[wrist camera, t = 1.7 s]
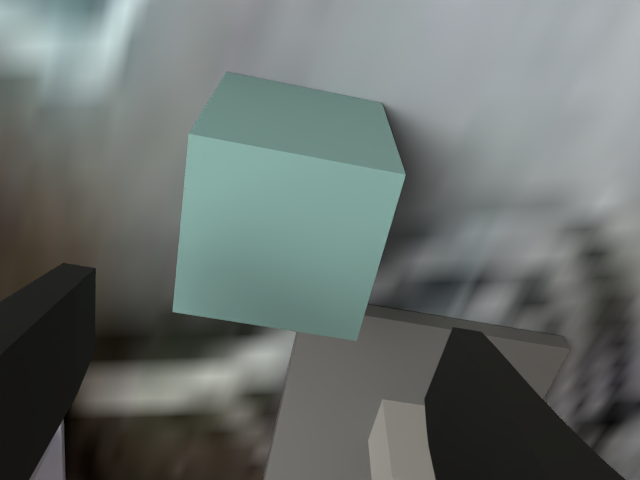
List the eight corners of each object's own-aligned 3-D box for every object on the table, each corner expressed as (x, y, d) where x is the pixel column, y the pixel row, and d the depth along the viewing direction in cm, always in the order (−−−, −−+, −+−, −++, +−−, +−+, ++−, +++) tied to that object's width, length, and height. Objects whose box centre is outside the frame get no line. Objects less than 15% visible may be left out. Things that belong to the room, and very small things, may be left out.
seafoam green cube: (209, 212, 21) (172, 311, 16) (226, 71, 18) (188, 133, 13) (347, 236, 22) (356, 340, 16) (382, 102, 19) (405, 174, 14)
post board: (264, 474, 28) (254, 570, 24) (304, 294, 23) (301, 378, 19) (476, 502, 29) (502, 600, 25) (563, 336, 24) (614, 425, 20)
